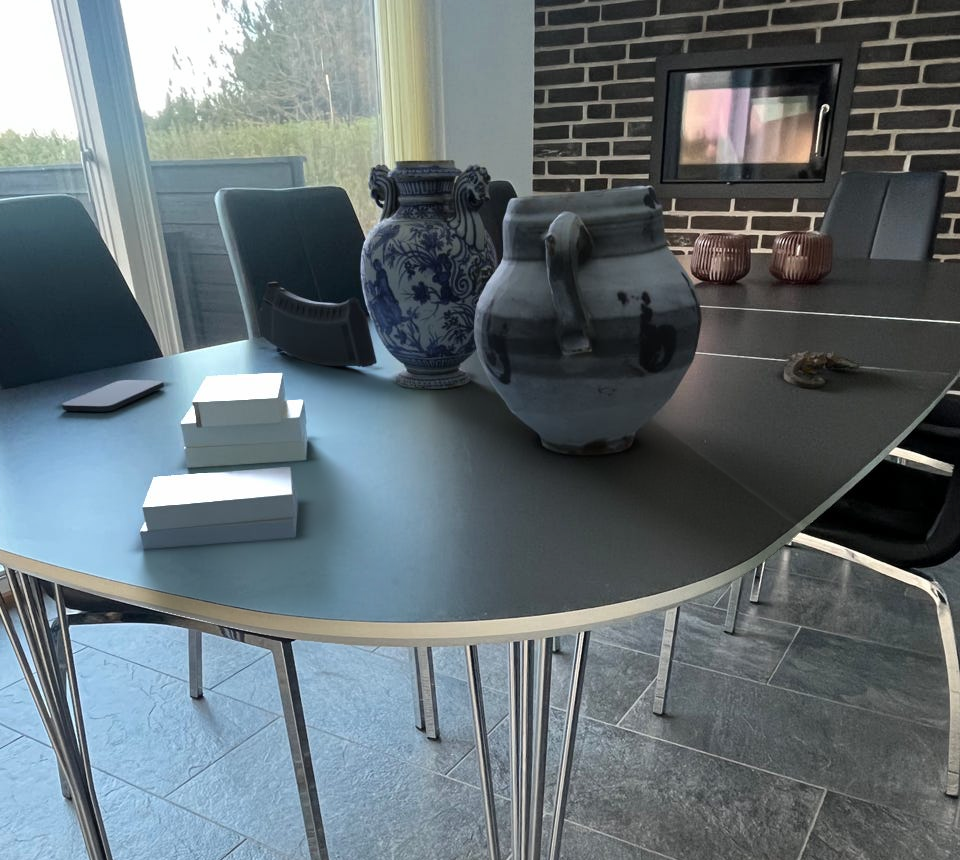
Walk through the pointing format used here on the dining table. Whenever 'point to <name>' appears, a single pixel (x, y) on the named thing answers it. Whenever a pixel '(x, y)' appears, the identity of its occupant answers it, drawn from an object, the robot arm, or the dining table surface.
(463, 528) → the dining table surface
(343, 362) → the magazine
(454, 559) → the dining table surface
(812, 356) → the seahorse
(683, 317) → the ceramic pot
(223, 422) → the white book
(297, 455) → the white books
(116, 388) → the phone
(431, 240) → the decorative vase
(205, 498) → the white box
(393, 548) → the dining table surface
